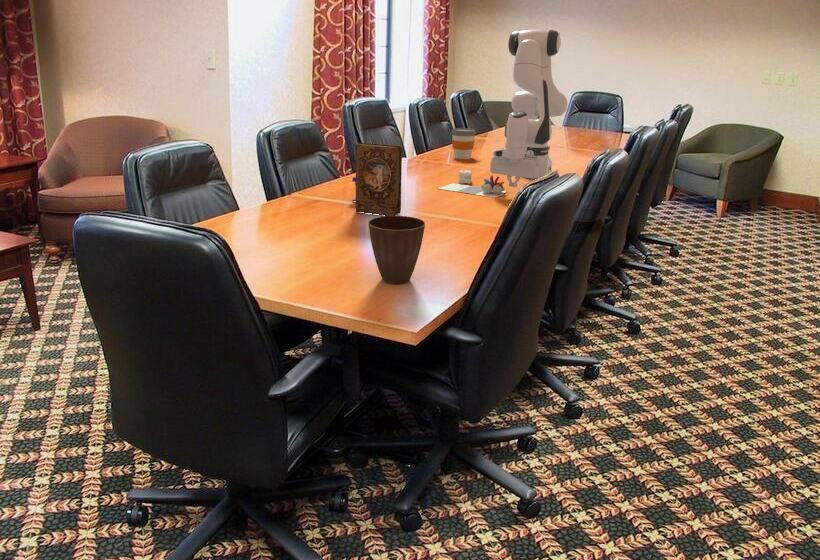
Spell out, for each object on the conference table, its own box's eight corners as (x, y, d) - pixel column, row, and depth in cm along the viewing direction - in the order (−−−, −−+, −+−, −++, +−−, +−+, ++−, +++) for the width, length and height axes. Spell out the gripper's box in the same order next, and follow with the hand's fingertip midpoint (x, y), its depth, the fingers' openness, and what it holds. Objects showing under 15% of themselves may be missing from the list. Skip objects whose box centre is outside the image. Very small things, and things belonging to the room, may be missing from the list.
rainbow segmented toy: (503, 195, 288) (504, 178, 285) (479, 194, 290) (481, 176, 287) (504, 191, 296) (506, 174, 293) (482, 189, 297) (483, 173, 295)
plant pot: (358, 284, 183) (358, 225, 178) (380, 267, 197) (381, 212, 191) (411, 292, 178) (413, 232, 173) (430, 275, 192) (432, 219, 186)
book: (353, 212, 255) (353, 144, 246) (359, 209, 260) (359, 142, 251) (395, 217, 250) (397, 147, 241) (400, 214, 255) (402, 145, 246)
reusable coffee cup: (447, 156, 378) (448, 128, 373) (468, 155, 382) (470, 127, 377) (455, 160, 367) (457, 131, 362) (477, 159, 370) (479, 130, 365)
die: (460, 181, 315) (460, 170, 313) (471, 181, 314) (471, 170, 313) (458, 183, 310) (459, 172, 309) (469, 184, 310) (470, 172, 308)
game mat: (452, 183, 309) (452, 183, 309) (508, 191, 296) (508, 191, 296) (437, 189, 298) (437, 188, 297) (495, 197, 285) (495, 197, 285)
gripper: (542, 154, 280) (539, 188, 284) (496, 149, 289) (493, 182, 294) (536, 156, 275) (533, 191, 279) (489, 151, 284) (487, 184, 289)
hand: (512, 186), depth 287 cm, fingers closed
